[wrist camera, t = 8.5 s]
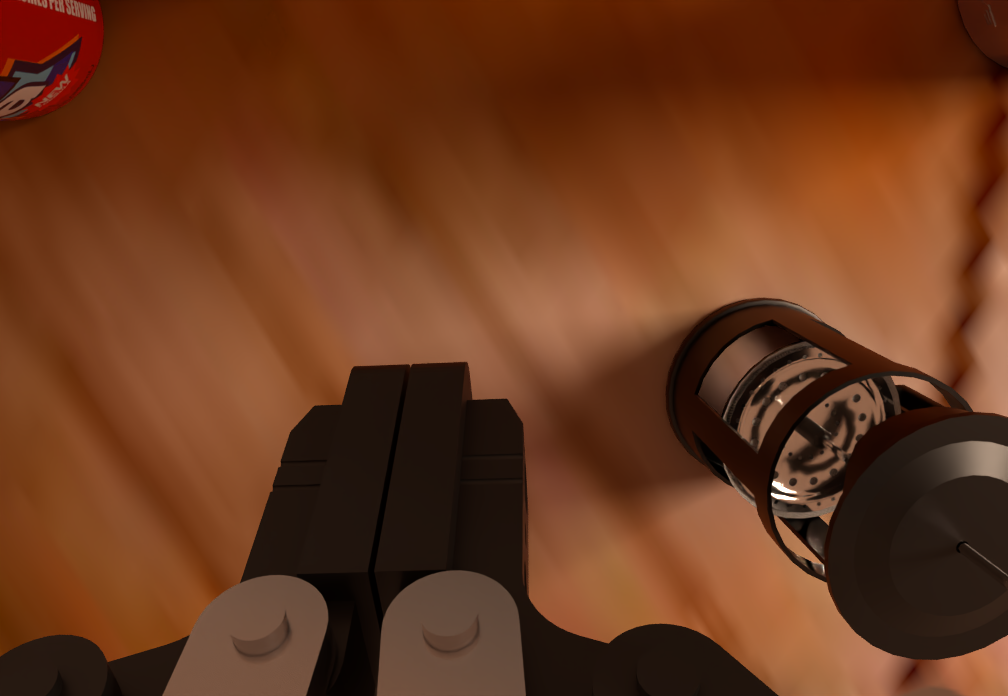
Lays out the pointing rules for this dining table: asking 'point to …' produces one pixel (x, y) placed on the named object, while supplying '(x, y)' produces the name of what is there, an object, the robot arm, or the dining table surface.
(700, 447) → the french press
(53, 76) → the soda can
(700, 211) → the dining table surface
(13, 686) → the robot arm
